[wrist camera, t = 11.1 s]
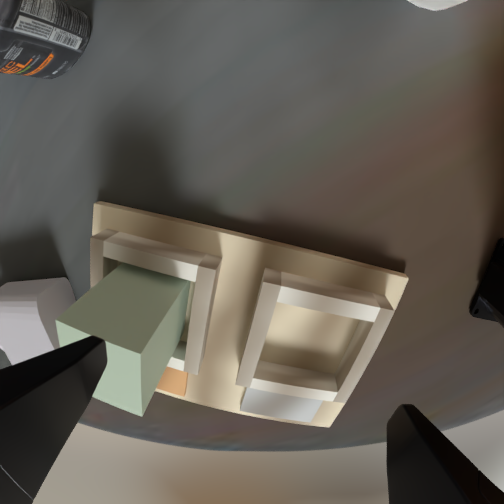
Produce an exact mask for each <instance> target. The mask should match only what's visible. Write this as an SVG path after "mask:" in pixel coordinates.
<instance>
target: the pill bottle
mask: <svg viewBox="0 0 504 504" xmlns="http://www.w3.org/2000/svg"><path fill="white" fill-rule="evenodd" d="M89 35H90V21H89V18H88V16H87V15H86V14H85V13H84V12H83V11H81V10H79V9H77V8H75V7H73V6H71V5H69V4H67V3H65V2H63V1H61V0H0V73H10V74H16V75H24V76H31V77H38V78H44V79H53V78H56V77H58V76H60V75H62V74H63V73H65V72H66V71H67V70H68V69H70V68H71V67H72V66H73V65H74V64H75V62H76V61H77V60H78V59H79V57H80V56H81V54H82V53H83V51H84V49H85V47H86V45H87V42H88V39H89Z"/></svg>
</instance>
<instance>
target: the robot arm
mask: <svg viewBox="0 0 504 504" xmlns="http://www.w3.org/2000/svg"><path fill="white" fill-rule="evenodd" d="M502 244H503V246H502ZM469 312H470V314H471V315H472V316H473V317H476V318H481V319H486V320H491V321H496V322H499V323H500V324H501V325H502V326H503V327H504V238H500V239H499V240H498V242H497V245H496V248H495V251H494V253H493V256H492V259H491V261H490V264H489V267H488V269H487V272H486V274H485V276H484V279H483V281H482V284H481V286H480V288H479V290H478V293H477V295H476V297H475V299H474V301H473V303H472V305H471V308H470V311H469ZM107 362H108V358H107V349H106V342H105V340H104V339H102V338H99V337H97V336H94V335H92V336H89V337H86V338H84V339H81V340H78V341H76V342H73V343H71V344H68V345H65V346H63V347H60V348H57V349H55V350H52V351H49V352H47V353H44V354H41V355H39V356H36V357H33V358H30V359H28V360H25V361H22V362H20V363H17V364H14V365H11V366H9V367H6V368H3V369H0V504H32V503H33V500H34V498H35V497H36V495H37V493H38V491H39V489H40V487H41V485H42V483H43V482H44V480H45V478H46V476H47V474H48V472H49V471H50V469H51V467H52V465H53V463H54V462H55V460H56V458H57V456H58V455H59V453H60V451H61V449H62V448H63V446H64V444H65V443H66V441H67V439H68V437H69V436H70V434H71V432H72V431H73V429H74V427H75V426H76V424H77V422H78V421H79V419H80V417H81V416H82V414H83V413H84V411H85V409H86V408H87V406H88V404H89V402H90V400H91V398H92V396H93V394H94V391H95V389H96V387H97V385H98V383H99V381H100V379H101V377H102V374H103V372H104V370H105V368H106V366H107ZM387 477H388V492H389V504H504V492H502V491H501V490H500V489H499V488H498V487H497V486H495V485H494V484H493V483H492V482H491V481H490V480H489V479H488V478H487V477H486V476H485V475H484V474H483V473H482V472H481V471H480V470H479V471H478V468H477V467H476V466H475V465H474V464H473V463H472V462H471V461H470V460H469V459H468V458H467V457H466V456H465V455H464V454H463V453H462V452H461V451H460V450H458V449H457V447H456V446H454V444H453V443H452V442H450V440H448V439H447V438H446V437H445V436H444V435H443V434H442V433H441V432H440V431H439V430H438V429H437V428H436V427H435V426H434V425H433V424H432V423H431V422H430V421H429V420H428V419H427V418H426V417H425V416H424V415H423V414H422V413H421V412H420V411H419V410H418V409H417V408H416V407H415V406H414V405H412V404H401V405H400V406H399V407H398V408H397V410H396V411H395V412H394V414H393V415H392V416H391V418H390V419H389V421H388V423H387Z"/></svg>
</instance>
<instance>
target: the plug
mask: <svg viewBox="0 0 504 504" xmlns="http://www.w3.org/2000/svg"><path fill="white" fill-rule="evenodd" d="M190 283H191V281H190V280H186V279H182V278H178V277H175V276H171V275H167V274H163V273H160V272H156V271H153V270H149V269H145V268H142V267H138V266H135V265H131V264H128V263H124V262H123V263H122V264H121V265H119V266H118V267H117V268H116V269H114V270H113V271H112V272H111V273H109V274H108V275H107V276H106V277H105V278H103V279H102V280H101V281H100V282H98V283H97V284H96V285H95V286H94V287H92V288H91V289H90V290H89V291H88V292H87V293H85V294H84V295H83V296H82V297H81V298H80V299H78V300H77V301H76V302H75V303H74V304H73V305H71V306H70V307H69V308H68V309H67V310H66V311H65V312H63V313H62V314H61V315H60V316H59V317H58V318H57V319H56V327H57V333H58V339H59V344H60V347H63V346H65V345H68V344H71V343H73V342H76V341H78V340H81V339H84V338H86V337H89V336H92V335H94V336H97V337H99V338H102V339H104V340H105V342H106V349H107V358H108V362H107V366H106V368H105V370H104V372H103V374H102V377H101V379H100V381H99V383H98V385H97V387H96V389H95V391H94V394H93V396H92V397H95V398H97V399H99V400H101V401H104V402H106V403H108V404H111V405H113V406H116V407H118V408H121V409H123V410H126V411H128V412H131V413H134V414H136V415H139V416H143V414H144V412H145V410H146V408H147V406H148V404H149V402H150V400H151V397H152V395H153V393H154V391H155V389H156V387H157V385H158V383H159V381H160V379H161V377H162V375H163V373H164V371H165V369H166V367H167V365H168V363H169V361H170V359H171V357H172V355H173V353H174V351H175V349H176V347H177V345H178V343H179V341H180V339H181V337H182V335H183V333H184V326H185V318H186V311H187V304H188V297H189V290H190Z"/></svg>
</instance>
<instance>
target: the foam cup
mask: <svg viewBox="0 0 504 504" xmlns="http://www.w3.org/2000/svg"><path fill="white" fill-rule="evenodd" d="M407 1H409V2H411V3H412V4H414V5H416V6H418V7H422V8H426V9H429V10H433V11H437V10H442V9H448V8H449V7H453V6H455V5H458V4H460V3H463V2H465V1H468V0H407Z"/></svg>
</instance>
